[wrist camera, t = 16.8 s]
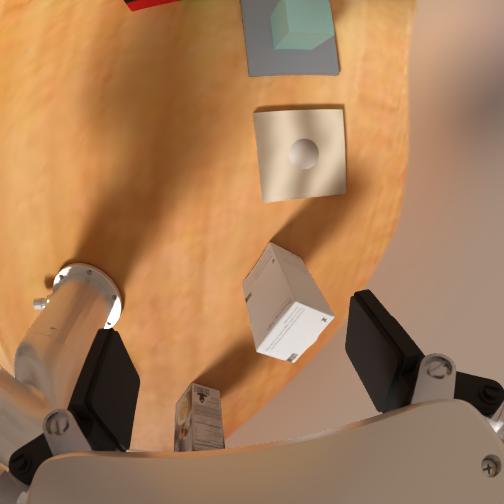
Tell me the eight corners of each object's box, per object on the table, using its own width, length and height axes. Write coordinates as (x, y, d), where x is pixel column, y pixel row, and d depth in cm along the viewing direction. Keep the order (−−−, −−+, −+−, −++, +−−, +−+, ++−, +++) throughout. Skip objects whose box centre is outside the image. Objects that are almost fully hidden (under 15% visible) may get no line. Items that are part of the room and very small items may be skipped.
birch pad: (261, 201, 40) (263, 203, 39) (252, 113, 35) (254, 112, 34) (343, 192, 41) (346, 194, 40) (339, 109, 36) (343, 109, 35)
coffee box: (202, 412, 57) (205, 475, 43) (175, 404, 55) (172, 469, 41) (220, 389, 55) (226, 458, 40) (191, 380, 53) (190, 451, 38)
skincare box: (269, 240, 43) (296, 295, 29) (302, 257, 45) (339, 315, 31) (240, 285, 45) (252, 352, 32) (273, 300, 47) (295, 366, 34)
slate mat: (249, 76, 33) (250, 75, 32) (240, -1, 28) (240, -4, 27) (336, 75, 34) (339, 74, 33) (325, 2, 29) (328, -1, 28)
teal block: (273, 49, 31) (289, 32, 24) (269, 16, 29) (284, -7, 22) (311, 49, 31) (334, 34, 24) (307, 18, 29) (328, -3, 22)
